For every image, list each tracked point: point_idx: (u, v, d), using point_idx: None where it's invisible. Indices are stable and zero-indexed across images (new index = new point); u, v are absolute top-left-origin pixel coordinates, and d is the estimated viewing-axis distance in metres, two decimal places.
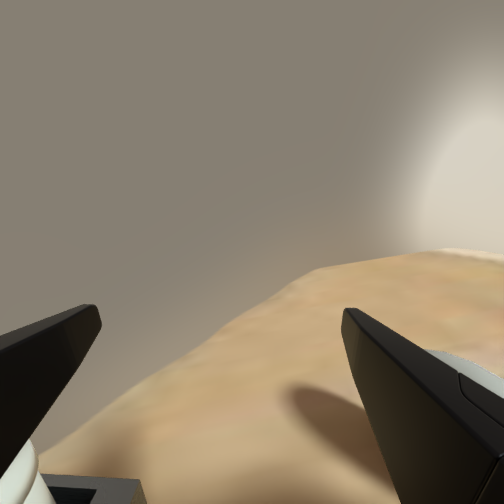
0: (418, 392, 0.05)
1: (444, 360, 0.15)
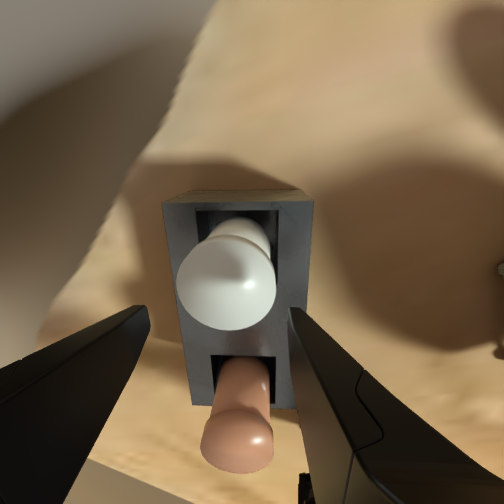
0: (319, 389, 0.05)
1: None
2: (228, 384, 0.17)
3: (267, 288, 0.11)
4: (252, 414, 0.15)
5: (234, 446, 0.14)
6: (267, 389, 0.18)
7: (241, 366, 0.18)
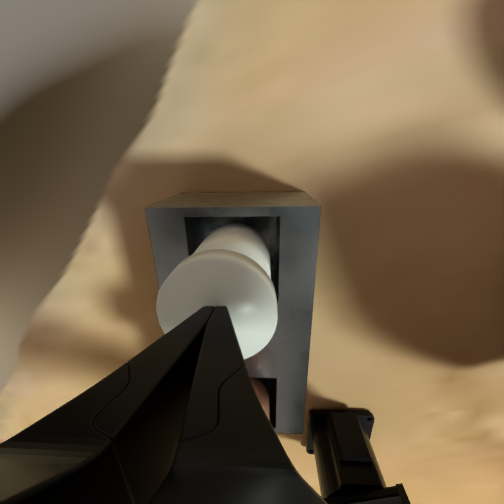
0: None
1: None
2: None
3: (267, 315, 0.09)
4: None
5: None
6: (267, 416, 0.16)
7: None
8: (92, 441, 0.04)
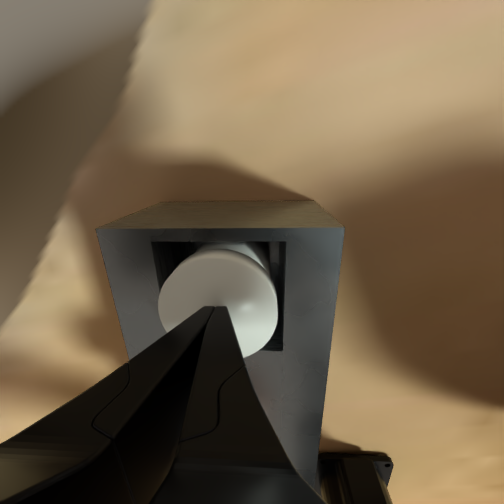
0: None
1: None
2: None
3: (267, 313, 0.09)
4: None
5: None
6: None
7: None
8: (92, 442, 0.04)
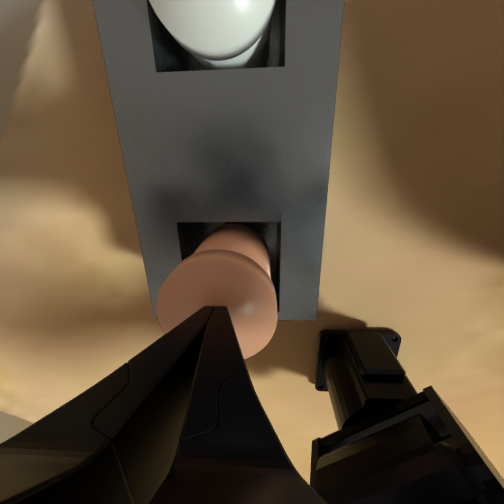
0: None
1: None
2: (207, 241, 0.11)
3: None
4: (242, 255, 0.09)
5: (212, 305, 0.09)
6: (267, 258, 0.12)
7: (229, 229, 0.12)
8: (92, 442, 0.04)
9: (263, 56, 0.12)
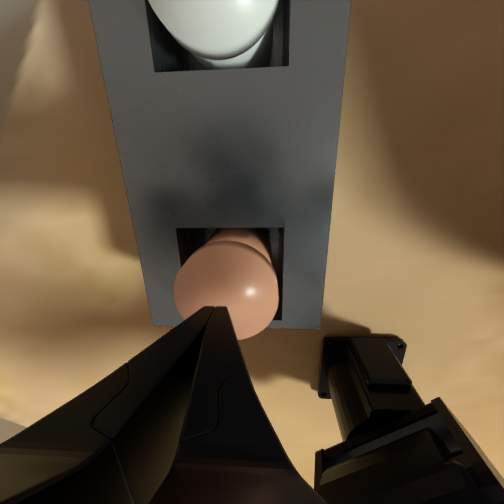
0: None
1: None
2: (216, 235, 0.12)
3: None
4: (248, 246, 0.10)
5: (222, 288, 0.10)
6: (269, 251, 0.13)
7: None
8: (92, 442, 0.04)
9: (266, 56, 0.11)
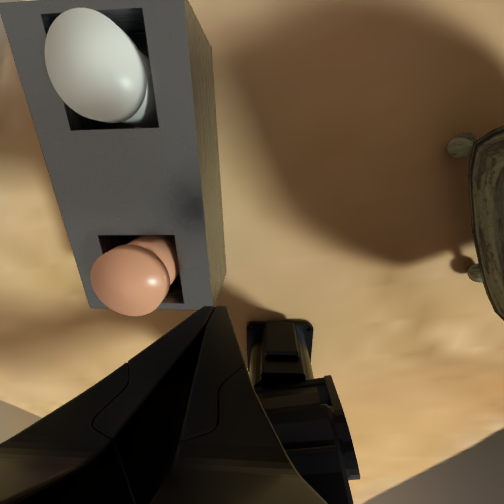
0: None
1: None
2: (133, 240, 0.17)
3: (128, 64, 0.11)
4: (143, 248, 0.14)
5: (123, 278, 0.14)
6: None
7: None
8: (92, 441, 0.04)
9: None
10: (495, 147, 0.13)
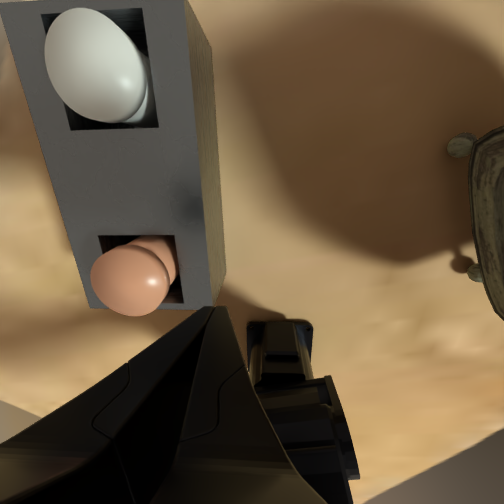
0: None
1: None
2: (133, 240, 0.17)
3: (128, 64, 0.11)
4: (143, 248, 0.14)
5: (123, 278, 0.14)
6: None
7: None
8: (92, 442, 0.04)
9: None
10: (494, 148, 0.13)
